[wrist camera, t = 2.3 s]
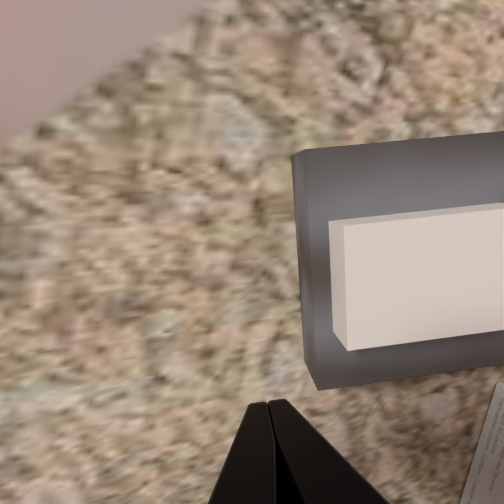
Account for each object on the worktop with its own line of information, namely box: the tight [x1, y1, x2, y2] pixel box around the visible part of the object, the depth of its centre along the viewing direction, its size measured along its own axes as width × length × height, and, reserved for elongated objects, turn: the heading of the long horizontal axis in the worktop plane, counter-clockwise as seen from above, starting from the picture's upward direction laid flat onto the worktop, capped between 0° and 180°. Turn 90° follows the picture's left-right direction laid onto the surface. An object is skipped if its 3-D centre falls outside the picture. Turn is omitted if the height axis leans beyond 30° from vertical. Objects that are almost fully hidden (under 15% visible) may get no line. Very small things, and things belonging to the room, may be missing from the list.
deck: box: [291, 131, 504, 391], centre depth 18 cm, size 13×12×3 cm
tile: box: [328, 203, 504, 351], centre depth 15 cm, size 6×9×2 cm, turn 95°
